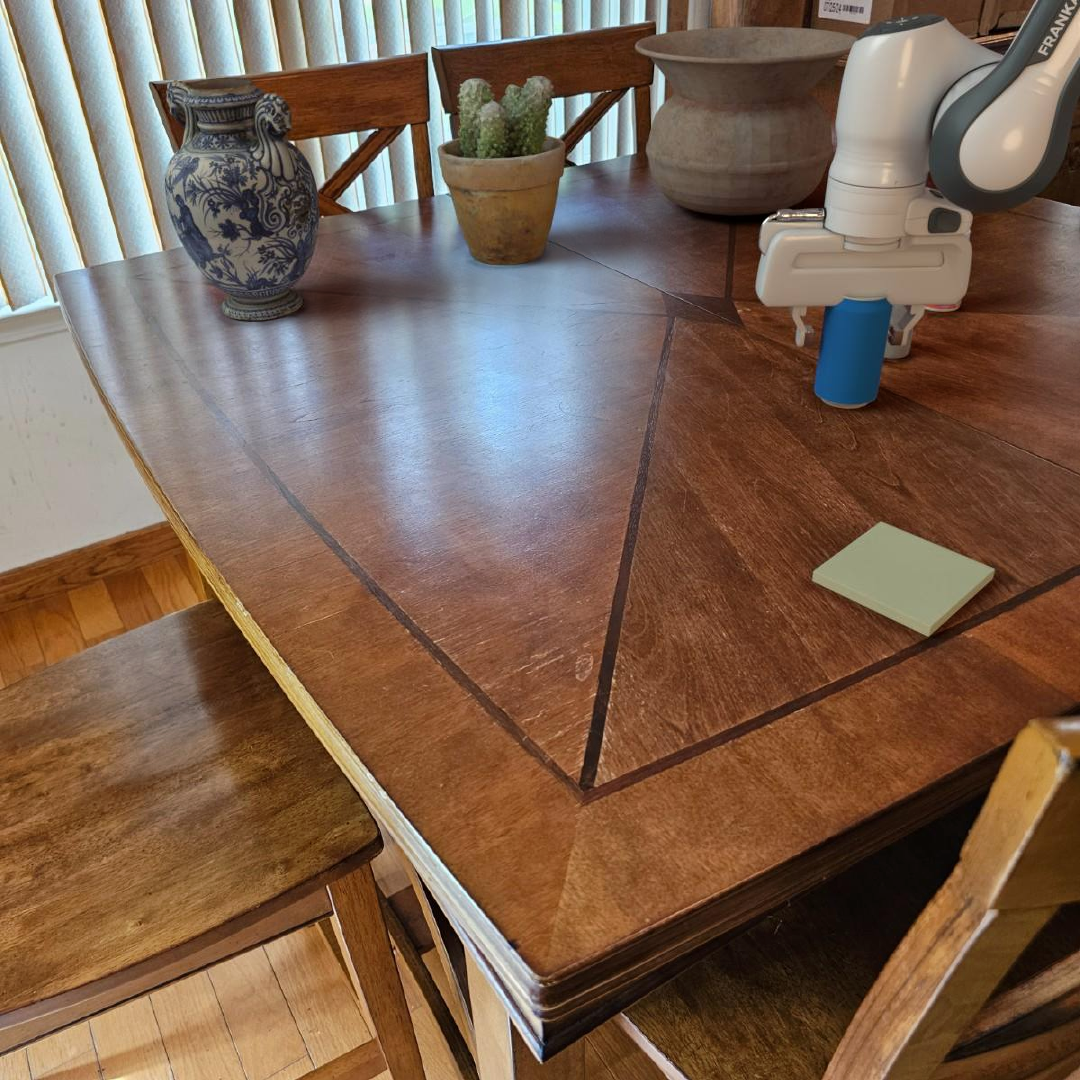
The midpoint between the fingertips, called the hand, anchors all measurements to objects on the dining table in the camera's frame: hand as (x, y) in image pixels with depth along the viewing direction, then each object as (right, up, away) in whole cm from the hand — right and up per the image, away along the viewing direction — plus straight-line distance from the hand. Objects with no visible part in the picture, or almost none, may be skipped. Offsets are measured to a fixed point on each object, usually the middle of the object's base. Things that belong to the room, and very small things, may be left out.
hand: (849, 344), depth 101 cm
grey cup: (+9, +2, +13) cm, 16 cm away
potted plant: (-37, +23, +48) cm, 65 cm away
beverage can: (0, -5, +3) cm, 6 cm away
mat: (-3, -23, -24) cm, 33 cm away
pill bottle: (+19, +10, +24) cm, 32 cm away
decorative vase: (-69, +11, +32) cm, 77 cm away
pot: (+1, +36, +64) cm, 73 cm away
